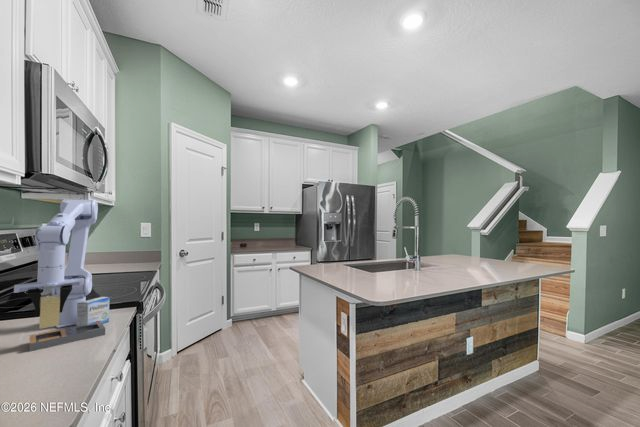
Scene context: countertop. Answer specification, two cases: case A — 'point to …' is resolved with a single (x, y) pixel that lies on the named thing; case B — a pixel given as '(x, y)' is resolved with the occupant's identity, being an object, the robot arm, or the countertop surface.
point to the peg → (49, 311)
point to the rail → (65, 336)
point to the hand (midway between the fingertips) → (49, 313)
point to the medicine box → (93, 311)
